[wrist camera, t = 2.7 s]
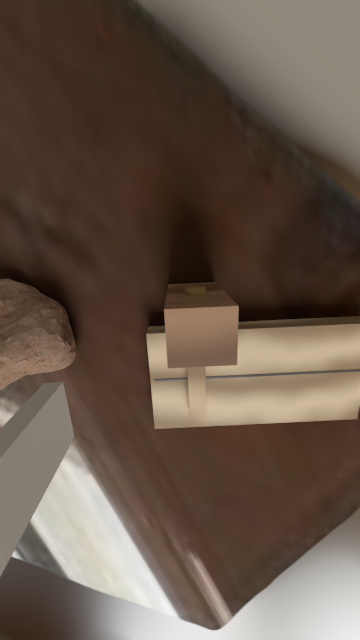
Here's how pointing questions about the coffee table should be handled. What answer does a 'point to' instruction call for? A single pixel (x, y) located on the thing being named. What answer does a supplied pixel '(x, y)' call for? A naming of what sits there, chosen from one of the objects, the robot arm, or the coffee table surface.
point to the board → (267, 375)
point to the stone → (32, 333)
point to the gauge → (200, 335)
